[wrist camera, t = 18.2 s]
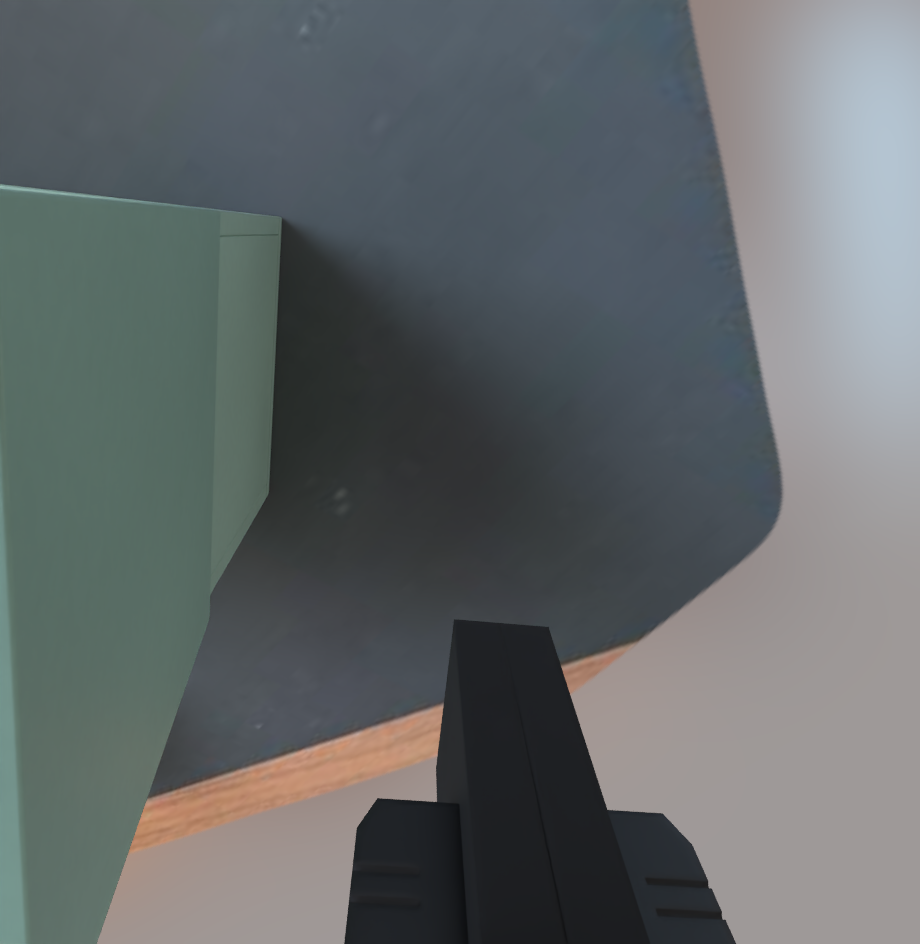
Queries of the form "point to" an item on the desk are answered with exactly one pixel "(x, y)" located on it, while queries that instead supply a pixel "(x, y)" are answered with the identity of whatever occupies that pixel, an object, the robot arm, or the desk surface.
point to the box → (239, 371)
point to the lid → (97, 533)
